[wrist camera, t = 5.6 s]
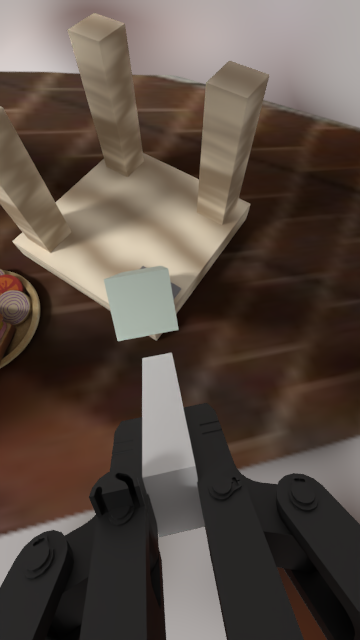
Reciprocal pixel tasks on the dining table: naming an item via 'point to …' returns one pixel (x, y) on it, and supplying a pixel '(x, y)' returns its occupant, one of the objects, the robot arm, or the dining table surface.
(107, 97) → the stool
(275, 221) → the dining table surface
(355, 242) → the dining table surface
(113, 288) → the hinged leg
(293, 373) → the dining table surface
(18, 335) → the toy sandwich meal
